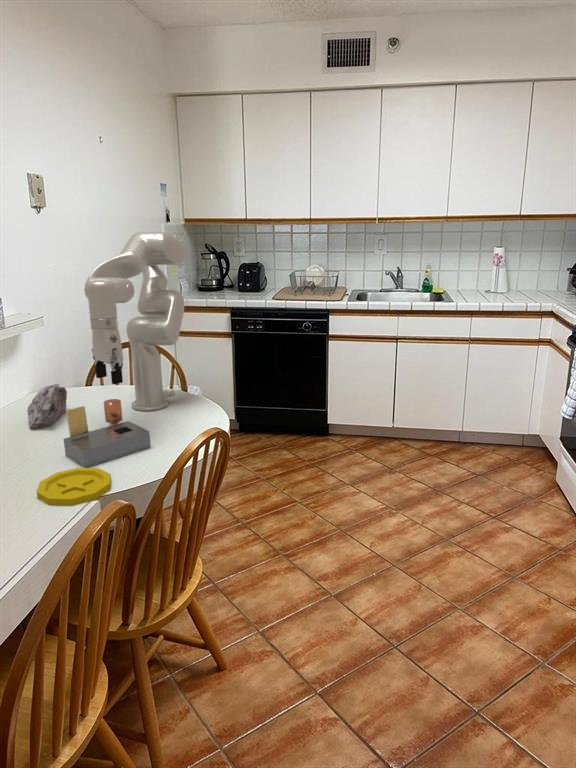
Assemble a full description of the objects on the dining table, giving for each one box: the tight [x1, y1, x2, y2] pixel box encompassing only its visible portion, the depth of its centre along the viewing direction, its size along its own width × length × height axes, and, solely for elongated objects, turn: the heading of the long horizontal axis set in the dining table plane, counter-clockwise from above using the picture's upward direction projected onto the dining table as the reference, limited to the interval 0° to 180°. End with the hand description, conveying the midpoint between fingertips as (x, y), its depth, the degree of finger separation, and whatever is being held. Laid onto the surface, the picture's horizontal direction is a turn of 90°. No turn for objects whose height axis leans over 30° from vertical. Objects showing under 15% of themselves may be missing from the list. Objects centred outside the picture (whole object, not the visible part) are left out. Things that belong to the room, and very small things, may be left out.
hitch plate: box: [63, 420, 151, 468], centre depth 162 cm, size 20×12×5 cm, turn 134°
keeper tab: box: [65, 405, 90, 437], centre depth 159 cm, size 8×5×1 cm
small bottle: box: [103, 398, 123, 426], centre depth 174 cm, size 5×5×10 cm
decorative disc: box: [36, 467, 112, 506], centre depth 141 cm, size 17×18×2 cm
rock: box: [26, 383, 68, 429], centre depth 187 cm, size 22×10×15 cm, turn 3°
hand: (109, 380), depth 170 cm, fingers open, 9 cm apart
